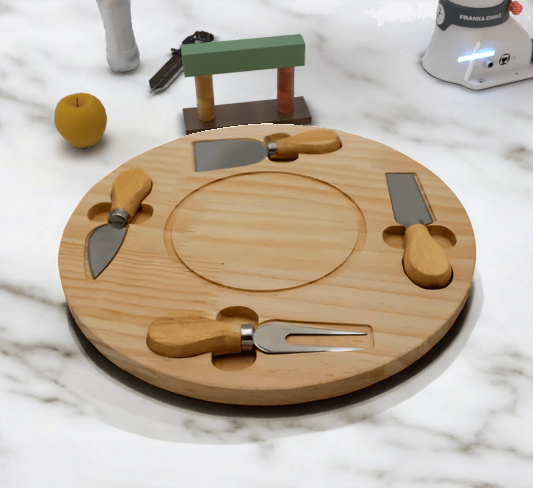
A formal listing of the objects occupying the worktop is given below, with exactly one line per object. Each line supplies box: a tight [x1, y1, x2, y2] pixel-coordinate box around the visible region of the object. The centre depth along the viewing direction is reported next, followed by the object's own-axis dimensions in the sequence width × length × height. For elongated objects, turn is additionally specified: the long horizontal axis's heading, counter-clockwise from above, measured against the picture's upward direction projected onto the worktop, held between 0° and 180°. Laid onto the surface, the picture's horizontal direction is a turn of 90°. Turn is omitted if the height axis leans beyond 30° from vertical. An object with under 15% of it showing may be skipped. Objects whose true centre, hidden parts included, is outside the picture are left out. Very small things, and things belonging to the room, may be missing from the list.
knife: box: [148, 30, 215, 95], centre depth 130 cm, size 25×6×1 cm, turn 154°
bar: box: [180, 33, 306, 78], centre depth 107 cm, size 20×4×4 cm, turn 100°
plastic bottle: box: [95, 0, 141, 73], centre depth 123 cm, size 6×7×20 cm
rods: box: [182, 67, 313, 136], centre depth 112 cm, size 22×7×10 cm, turn 100°
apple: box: [53, 92, 108, 149], centre depth 108 cm, size 8×8×9 cm
